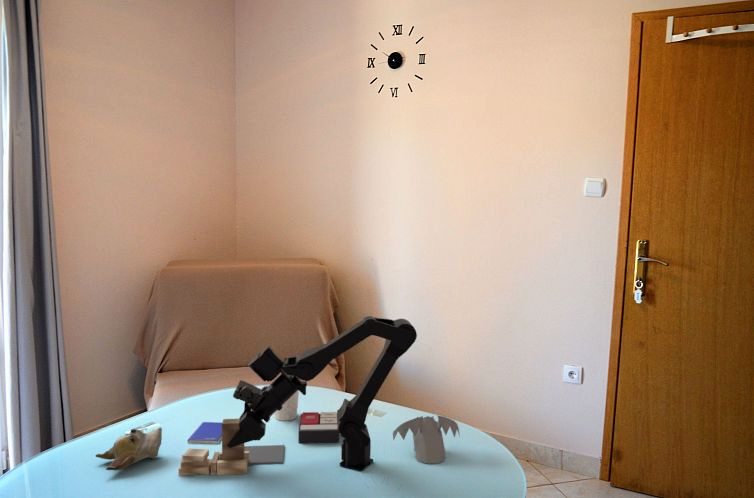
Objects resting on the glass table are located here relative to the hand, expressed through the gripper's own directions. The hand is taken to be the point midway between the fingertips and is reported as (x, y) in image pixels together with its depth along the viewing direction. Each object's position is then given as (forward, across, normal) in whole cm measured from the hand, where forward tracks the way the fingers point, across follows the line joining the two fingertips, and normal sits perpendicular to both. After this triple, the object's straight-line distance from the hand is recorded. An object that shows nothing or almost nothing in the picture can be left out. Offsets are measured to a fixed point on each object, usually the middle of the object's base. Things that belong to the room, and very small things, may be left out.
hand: (230, 438), depth 144 cm
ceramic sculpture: (+23, -6, -12) cm, 27 cm away
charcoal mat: (+1, -7, +10) cm, 12 cm away
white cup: (-3, -33, +14) cm, 36 cm away
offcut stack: (+11, 0, 0) cm, 11 cm away
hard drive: (+12, -22, 0) cm, 25 cm away
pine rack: (+5, 0, +6) cm, 8 cm away
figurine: (-30, -5, +41) cm, 51 cm away
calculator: (-10, -21, +21) cm, 31 cm away
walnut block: (+5, 0, +6) cm, 8 cm away
